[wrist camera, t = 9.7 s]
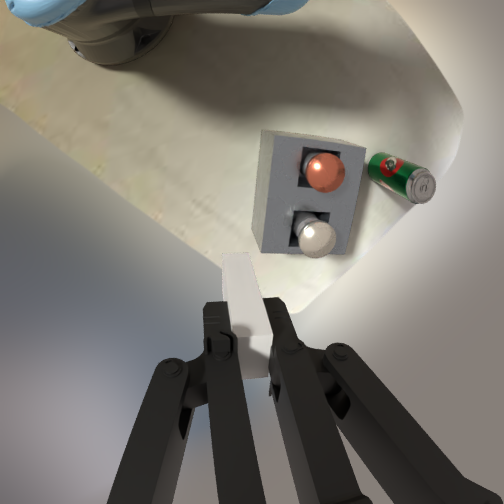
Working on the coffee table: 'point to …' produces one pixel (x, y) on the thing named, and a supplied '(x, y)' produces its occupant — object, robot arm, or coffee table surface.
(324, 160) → the orange light bulb
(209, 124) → the coffee table surface
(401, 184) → the soda can
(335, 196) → the housing
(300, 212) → the white light bulb
